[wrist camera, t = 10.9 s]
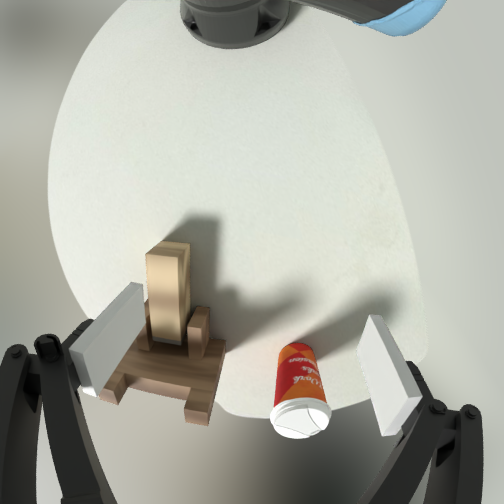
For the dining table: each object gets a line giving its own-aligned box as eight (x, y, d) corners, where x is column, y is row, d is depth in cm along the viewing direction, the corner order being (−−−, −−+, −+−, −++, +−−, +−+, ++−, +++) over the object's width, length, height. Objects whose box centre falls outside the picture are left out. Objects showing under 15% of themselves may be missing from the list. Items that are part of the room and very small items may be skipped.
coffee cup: (329, 356, 46) (344, 423, 32) (292, 380, 48) (295, 446, 34) (299, 327, 44) (307, 396, 30) (261, 354, 47) (256, 422, 32)
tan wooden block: (161, 240, 41) (145, 254, 36) (190, 243, 41) (177, 257, 35) (165, 320, 46) (153, 340, 40) (190, 324, 46) (181, 345, 40)
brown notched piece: (133, 296, 45) (84, 352, 30) (227, 309, 44) (206, 380, 29) (139, 339, 48) (100, 399, 33) (225, 353, 47) (208, 426, 32)
